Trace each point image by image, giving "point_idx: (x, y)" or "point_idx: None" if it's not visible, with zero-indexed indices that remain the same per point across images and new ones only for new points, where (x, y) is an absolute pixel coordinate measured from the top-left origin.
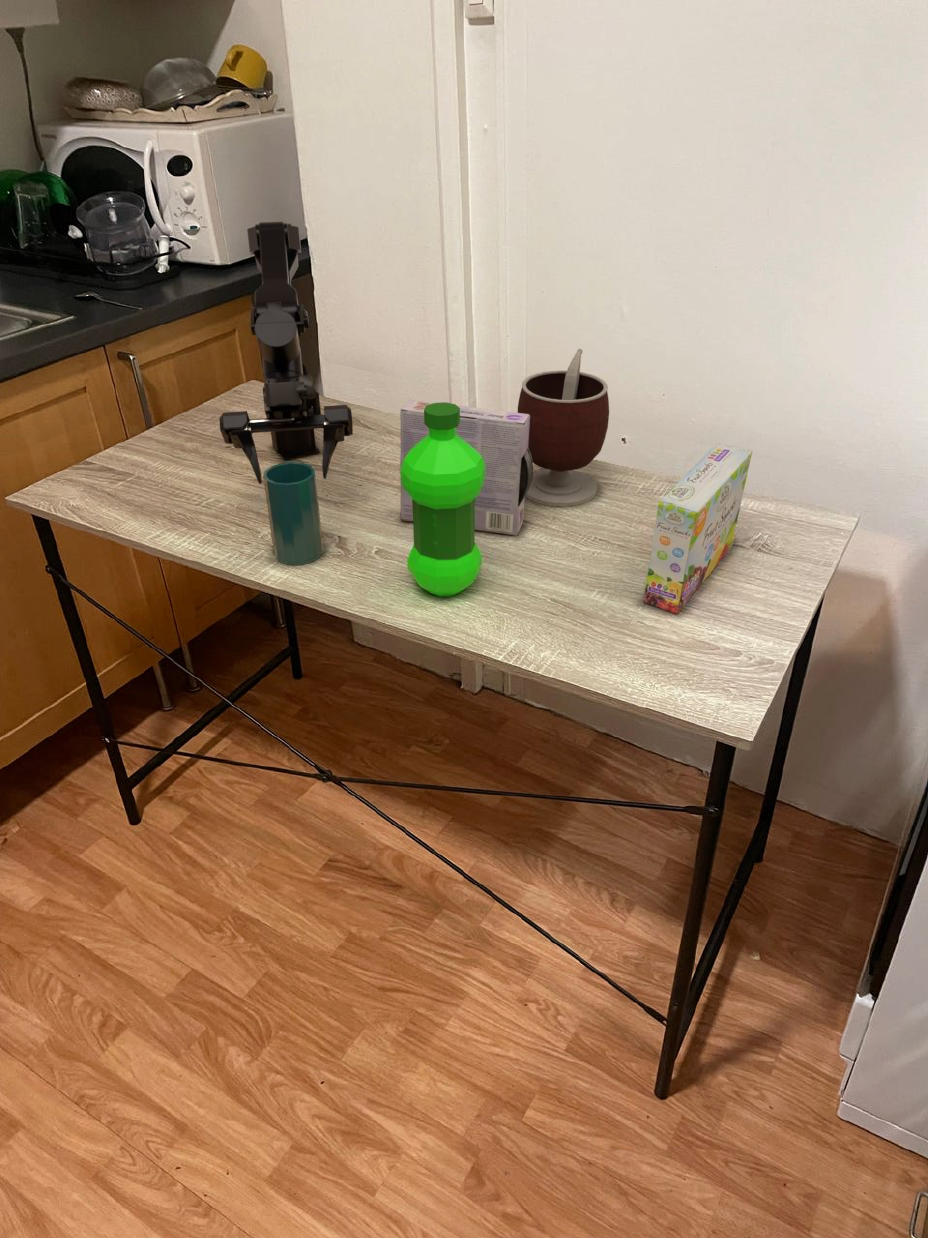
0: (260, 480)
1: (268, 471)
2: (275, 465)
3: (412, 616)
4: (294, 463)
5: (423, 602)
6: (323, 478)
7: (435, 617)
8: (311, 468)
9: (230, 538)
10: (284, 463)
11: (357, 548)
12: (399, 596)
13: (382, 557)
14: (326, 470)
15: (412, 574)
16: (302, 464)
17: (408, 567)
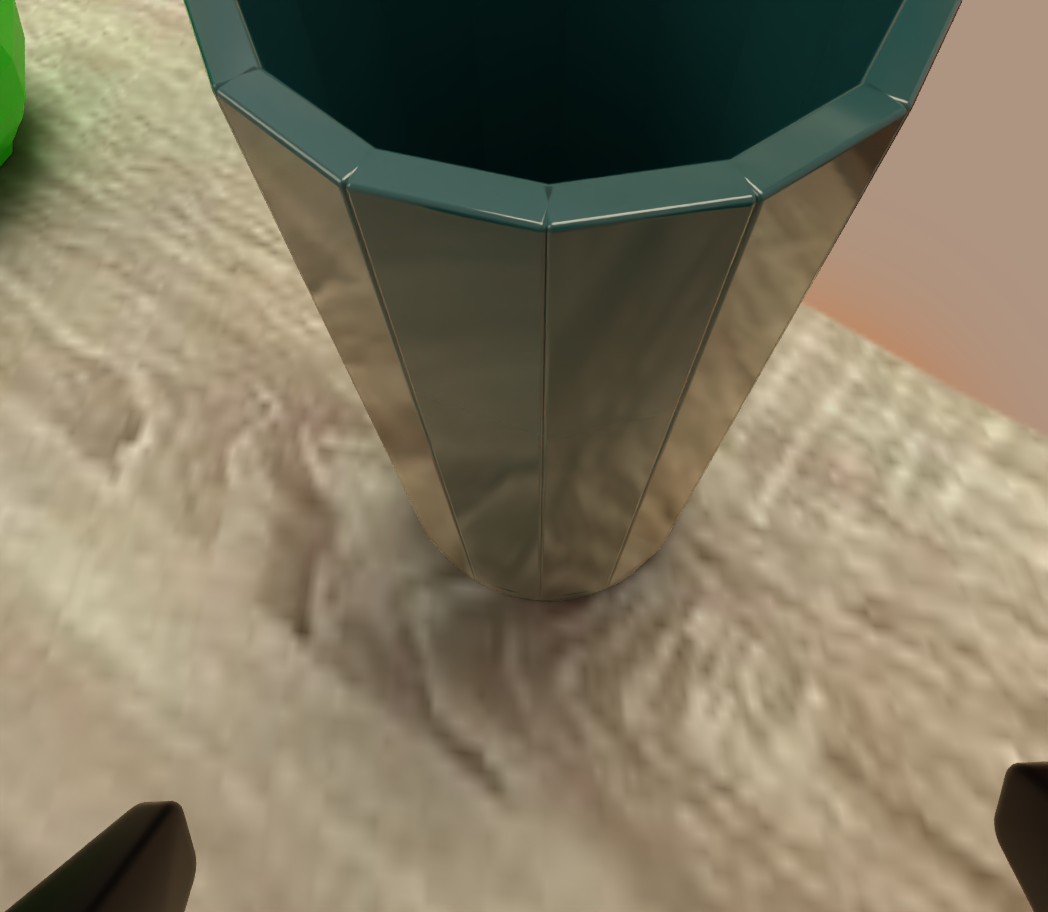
0: (1025, 765)
1: (896, 3)
2: (831, 127)
3: (129, 17)
4: (490, 178)
5: (61, 76)
6: (191, 840)
7: (54, 8)
8: (219, 5)
9: (1008, 695)
10: (677, 177)
11: (222, 480)
12: (136, 112)
13: (115, 381)
14: (74, 859)
15: (15, 34)
16: (348, 131)
17: (8, 45)
